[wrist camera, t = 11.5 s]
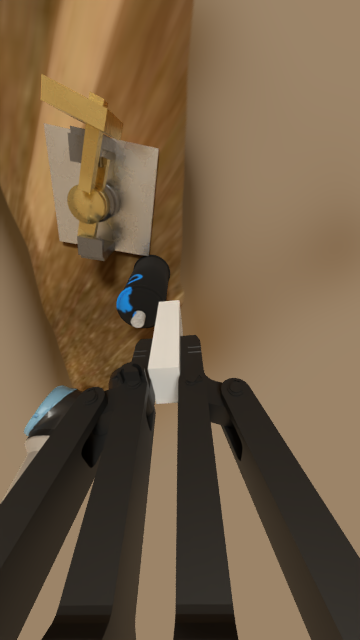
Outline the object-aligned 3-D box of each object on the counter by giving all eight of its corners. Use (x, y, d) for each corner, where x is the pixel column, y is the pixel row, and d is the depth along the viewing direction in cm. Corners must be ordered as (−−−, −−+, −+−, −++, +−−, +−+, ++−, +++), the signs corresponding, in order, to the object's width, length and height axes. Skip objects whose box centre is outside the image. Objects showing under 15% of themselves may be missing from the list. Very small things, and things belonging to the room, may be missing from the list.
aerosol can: (176, 264, 47) (174, 312, 30) (161, 294, 51) (152, 350, 35) (141, 247, 45) (118, 289, 28) (128, 280, 49) (102, 332, 33)
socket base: (149, 254, 46) (142, 270, 38) (62, 239, 44) (36, 253, 36) (159, 149, 36) (153, 141, 28) (47, 124, 34) (7, 109, 26)
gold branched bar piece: (70, 234, 37) (35, 252, 28) (86, 95, 28) (42, 56, 19) (104, 247, 39) (81, 268, 30) (131, 119, 29) (109, 93, 20)
